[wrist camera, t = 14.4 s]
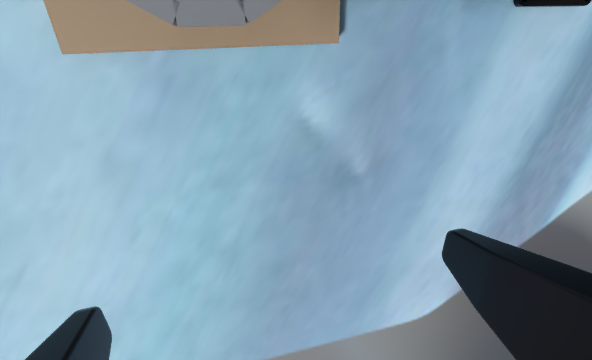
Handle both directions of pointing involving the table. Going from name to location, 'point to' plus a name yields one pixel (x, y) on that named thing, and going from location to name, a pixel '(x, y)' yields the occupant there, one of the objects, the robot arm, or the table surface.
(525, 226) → the table surface
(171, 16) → the duct collar
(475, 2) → the table surface
